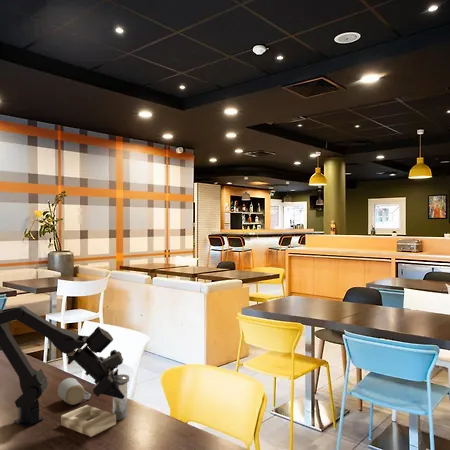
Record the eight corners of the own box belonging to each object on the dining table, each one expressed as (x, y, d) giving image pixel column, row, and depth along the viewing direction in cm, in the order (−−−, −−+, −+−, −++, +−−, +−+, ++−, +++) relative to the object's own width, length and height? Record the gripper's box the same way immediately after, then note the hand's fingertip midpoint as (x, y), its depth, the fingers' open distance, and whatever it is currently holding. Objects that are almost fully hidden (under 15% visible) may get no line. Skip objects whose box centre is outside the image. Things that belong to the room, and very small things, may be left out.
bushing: (107, 417, 138) (107, 378, 139) (120, 411, 143) (120, 373, 144) (119, 422, 135) (120, 381, 136) (132, 415, 140) (132, 376, 141)
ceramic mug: (65, 408, 146) (66, 386, 146) (56, 401, 152) (57, 379, 152) (94, 401, 153) (95, 379, 153) (85, 394, 159) (86, 374, 159)
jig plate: (61, 425, 133) (61, 415, 133) (86, 413, 141) (86, 404, 141) (90, 436, 126) (91, 426, 126) (116, 424, 134) (116, 414, 134)
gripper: (104, 352, 130) (140, 387, 131) (112, 338, 149) (143, 368, 150) (77, 379, 129) (114, 413, 130) (88, 361, 147) (120, 391, 149)
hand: (124, 395), depth 140 cm, fingers closed on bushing, 5 cm apart
